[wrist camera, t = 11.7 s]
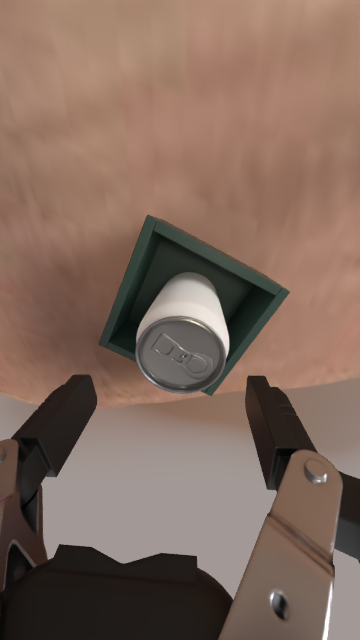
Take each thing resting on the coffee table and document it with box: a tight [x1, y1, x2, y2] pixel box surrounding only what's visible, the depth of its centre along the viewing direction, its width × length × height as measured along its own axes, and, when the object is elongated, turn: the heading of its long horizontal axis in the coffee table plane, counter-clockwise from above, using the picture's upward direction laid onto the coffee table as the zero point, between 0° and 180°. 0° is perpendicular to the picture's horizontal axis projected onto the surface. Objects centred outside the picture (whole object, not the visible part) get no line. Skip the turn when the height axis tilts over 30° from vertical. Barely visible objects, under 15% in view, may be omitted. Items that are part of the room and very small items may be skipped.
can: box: [135, 272, 229, 394], centre depth 18 cm, size 6×6×12 cm
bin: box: [99, 215, 290, 396], centre depth 21 cm, size 13×13×7 cm
